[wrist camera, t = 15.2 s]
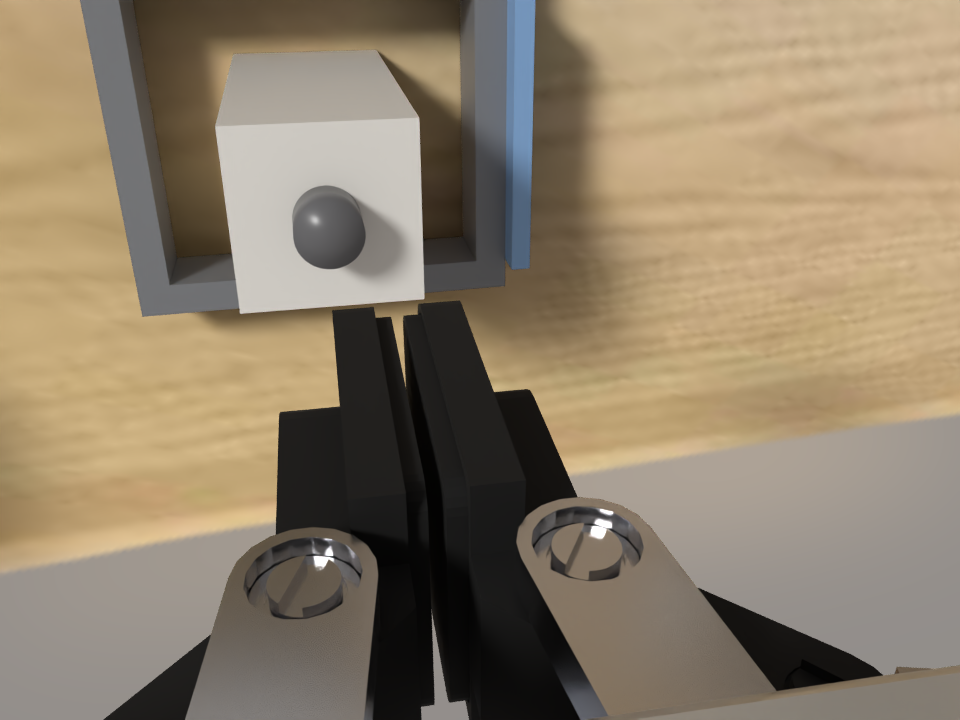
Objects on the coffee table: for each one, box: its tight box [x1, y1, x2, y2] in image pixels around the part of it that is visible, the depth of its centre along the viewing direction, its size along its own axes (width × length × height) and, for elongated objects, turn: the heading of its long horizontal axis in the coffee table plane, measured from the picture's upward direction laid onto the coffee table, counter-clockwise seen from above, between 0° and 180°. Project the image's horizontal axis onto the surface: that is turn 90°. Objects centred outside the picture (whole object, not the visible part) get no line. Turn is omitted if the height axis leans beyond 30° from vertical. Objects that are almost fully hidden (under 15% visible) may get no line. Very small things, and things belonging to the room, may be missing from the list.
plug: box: [215, 50, 424, 314], centre depth 25 cm, size 4×4×11 cm
